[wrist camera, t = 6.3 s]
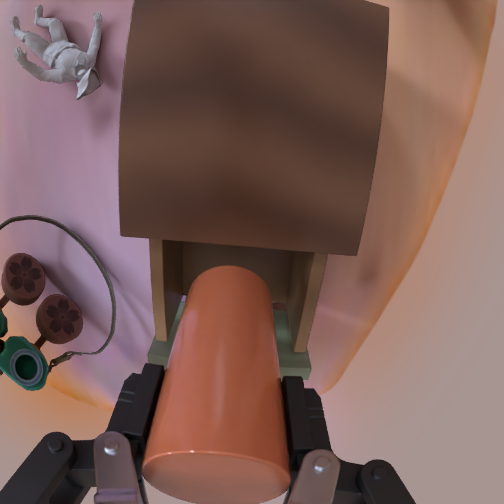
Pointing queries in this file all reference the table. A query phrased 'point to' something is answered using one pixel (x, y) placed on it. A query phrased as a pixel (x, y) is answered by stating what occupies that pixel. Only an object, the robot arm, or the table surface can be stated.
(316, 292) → the drawer
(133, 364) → the table surface
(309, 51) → the cabinet
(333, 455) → the robot arm
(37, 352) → the binoculars
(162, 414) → the orange cylinder
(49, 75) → the soldier figure
